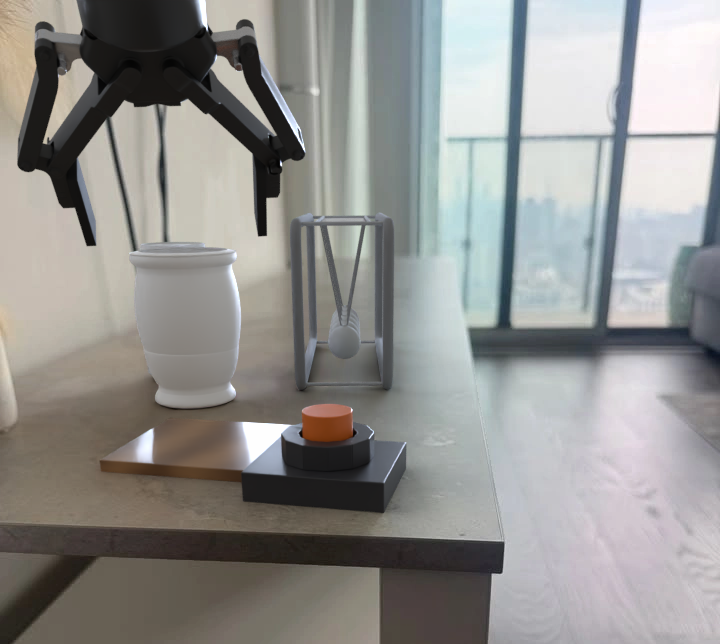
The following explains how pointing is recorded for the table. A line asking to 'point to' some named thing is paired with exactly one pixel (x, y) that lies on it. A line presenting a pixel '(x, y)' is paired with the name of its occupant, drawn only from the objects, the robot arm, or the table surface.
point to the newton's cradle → (345, 318)
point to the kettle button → (327, 422)
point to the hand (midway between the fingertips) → (177, 229)
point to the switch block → (326, 471)
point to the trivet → (194, 449)
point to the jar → (188, 323)
